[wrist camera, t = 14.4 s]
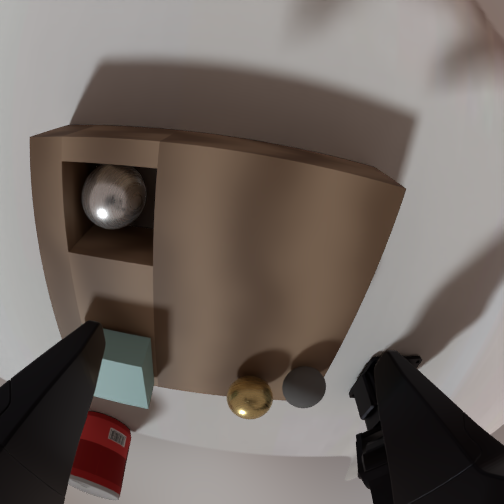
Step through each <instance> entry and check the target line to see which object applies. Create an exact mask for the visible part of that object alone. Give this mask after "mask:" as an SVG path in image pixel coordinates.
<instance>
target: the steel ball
mask: <svg viewBox="0 0 504 504" xmlns="http://www.w3.org/2000/svg"><path fill="white" fill-rule="evenodd" d="M81 200H82V206H83V209H84V211H85V213H86V215H87V216H88V218H89V219H90V220H91V221H92V222H93V223H94V224H96V225H98V226H100V227H102V228H105V229H120V228H123V227H126V226H128V225H129V224H131V223H132V222H134V221H135V220H136V219H137V218H138V216H139V215H140V214H141V212H142V210H143V208H144V205H145V202H146V186H145V183H144V180H143V178H142V176H141V175H140V174H139V172H138V171H137V170H136V169H135V168H133V167H132V166H126V165H114V164H102V165H100V166H98V167H97V168H95V169H94V170H93V171H92V172H91V173H90V174H89V175H88V177H87V178H86V180H85V182H84V185H83V188H82V194H81Z"/></svg>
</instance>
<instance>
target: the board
mask: <svg viewBox="0 0 504 504" xmlns="http://www.w3.org/2000/svg"><path fill="white" fill-rule="evenodd" d="M96 163H101V164H114V165H126V166H137V167H147V168H157V177H156V192H155V210H154V229H151V228H144V227H137V226H129V225H128V226H126V227H123V228H120V229H105V228H102V227H100V226H98V225H96V224H94V223H93V222H92V221H91V220H90V219H89V218H88V216H87V215H86V213H85V211H84V209H83V206H82V200H81V194H82V188H83V185H84V182H85V180H86V178H87V177H88V175H89V174H90V173H91V172H92V171H93V170H94V169H95V168H96ZM30 169H31V185H32V197H33V207H34V216H35V224H36V231H37V237H38V243H39V249H40V255H41V260H42V265H43V270H44V275H45V279H46V283H47V288H48V292H49V296H50V300H51V304H52V307H53V311H54V314H55V318H56V321H57V325H58V328H59V331H60V334H61V337H62V339H63V338H65V337H66V336H67V335H69V334H70V333H71V332H73V331H74V330H76V329H77V328H78V327H80V326H81V324H84V323H85V322H86V321H88V320H92V321H97V322H100V323H101V324H102V327H103V329H108V330H112V331H117V332H122V333H127V334H132V335H137V336H142V337H148V338H151V350H152V363H153V374H154V386H158V387H164V388H169V389H176V390H182V391H189V392H196V393H203V394H211V395H220V396H227V392H228V389H229V387H230V386H231V384H232V383H233V382H234V381H235V380H237V379H238V378H241V377H244V376H256V377H259V378H261V379H263V380H264V381H265V382H267V383H268V385H269V386H270V388H271V390H272V393H273V400H286V399H285V397H284V395H283V391H282V385H283V381H284V379H285V377H286V376H287V374H288V373H289V372H290V371H292V370H293V369H295V368H298V367H302V366H308V367H312V368H315V369H316V370H318V371H319V372H320V373H321V374H322V375H323V377H324V376H325V374H326V372H327V371H328V369H329V367H330V365H331V363H332V361H333V360H334V358H335V356H336V354H337V352H338V350H339V348H340V346H341V344H342V342H343V340H344V338H345V336H346V334H347V332H348V330H349V328H350V326H351V324H352V322H353V320H354V318H355V316H356V314H357V312H358V310H359V307H360V305H361V303H362V301H363V299H364V297H365V294H366V292H367V290H368V288H369V285H370V283H371V281H372V278H373V276H374V274H375V271H376V269H377V267H378V264H379V262H380V259H381V257H382V254H383V252H384V249H385V247H386V244H387V242H388V239H389V236H390V234H391V231H392V228H393V226H394V223H395V220H396V217H397V215H398V212H399V209H400V206H401V203H402V200H403V197H404V194H405V191H406V188H404V187H403V186H402V185H400V184H399V183H397V182H396V181H394V180H393V179H392V178H390V177H389V176H387V175H386V174H384V173H383V172H381V171H380V170H378V169H377V168H375V167H372V166H368V165H365V164H361V163H357V162H353V161H350V160H346V159H342V158H338V157H333V156H329V155H325V154H321V153H316V152H312V151H307V150H303V149H298V148H293V147H288V146H283V145H278V144H272V143H267V142H261V141H256V140H250V139H243V138H237V137H230V136H223V135H216V134H208V133H200V132H192V131H183V130H173V129H161V128H149V127H133V126H112V125H67V126H63V127H60V128H56V129H53V130H50V131H47V132H44V133H40V134H37V135H34V136H32V137H30Z"/></svg>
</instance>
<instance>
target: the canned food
mask: <svg viewBox="0 0 504 504" xmlns="http://www.w3.org/2000/svg"><path fill="white" fill-rule="evenodd" d="M130 441H131V433H130V430H129V429H128V428H127V427H126V426H125V425H124V424H123V423H121V422H120V421H118V420H116V419H114V418H112V417H110V416H108V415H105V414H102V413H98V412H93V411H88V414H87V417H86V420H85V423H84V427H83V430H82V433H81V437H80V440H79V444H78V447H77V451H76V454H75V458H74V462H73V466H72V470H71V474H70V478H69V482H68V484H69V485H71V486H73V487H75V488H77V489H79V490H81V491H84V492H86V493H88V494H91V495H94V496H97V497H101V498H105V499H109V500H119V497H120V492H121V488H122V482H123V477H124V471H125V466H126V461H127V456H128V451H129V446H130Z"/></svg>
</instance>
